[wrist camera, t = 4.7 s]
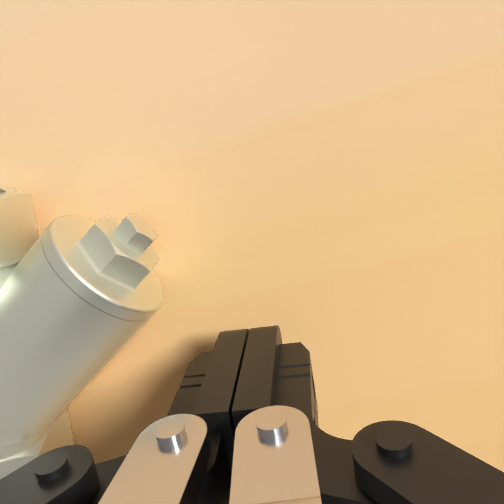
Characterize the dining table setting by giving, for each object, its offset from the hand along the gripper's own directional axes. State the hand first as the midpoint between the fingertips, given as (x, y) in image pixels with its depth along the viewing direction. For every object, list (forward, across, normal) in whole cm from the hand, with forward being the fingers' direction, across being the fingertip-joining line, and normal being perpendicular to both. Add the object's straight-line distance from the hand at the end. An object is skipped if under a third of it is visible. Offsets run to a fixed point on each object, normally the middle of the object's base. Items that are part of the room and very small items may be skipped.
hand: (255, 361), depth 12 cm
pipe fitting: (+2, +6, -1) cm, 6 cm away
